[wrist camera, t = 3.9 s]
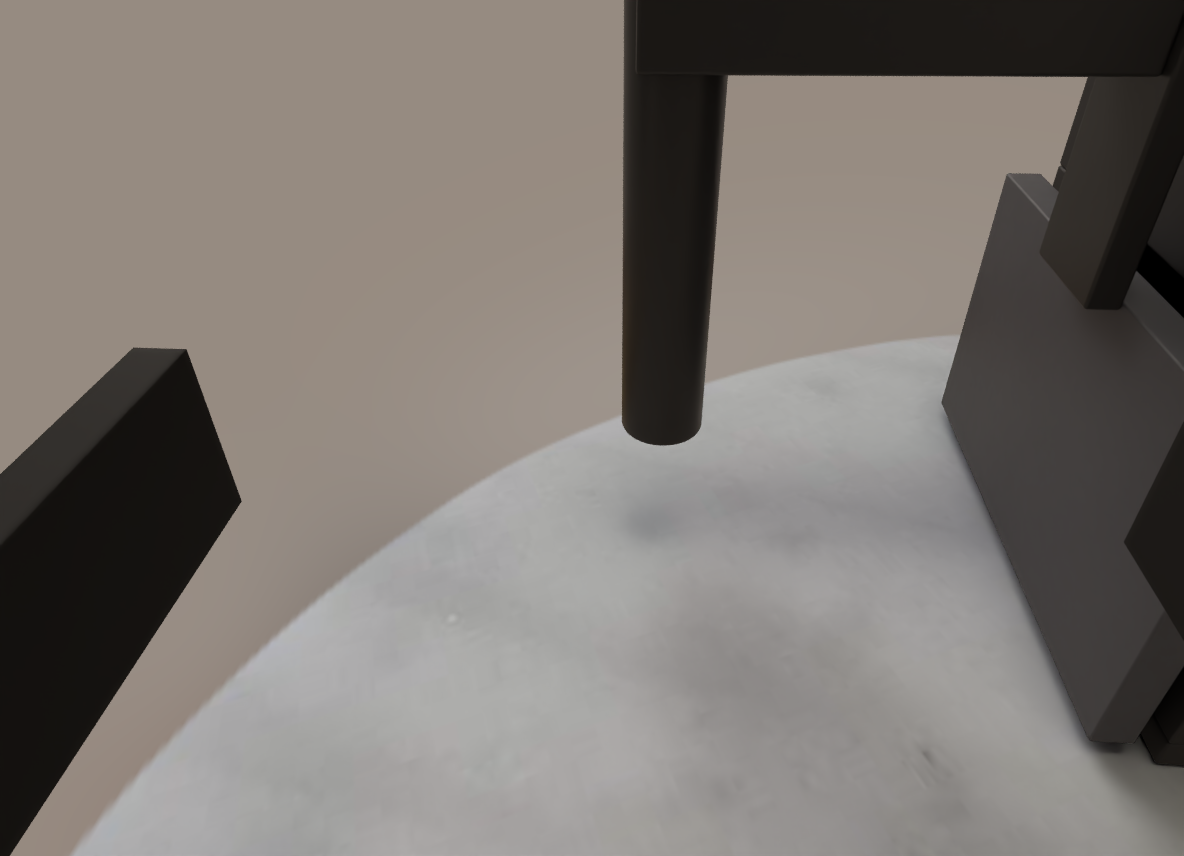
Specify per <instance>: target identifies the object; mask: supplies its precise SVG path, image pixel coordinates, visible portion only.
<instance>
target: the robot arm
mask: <svg viewBox="0 0 1184 856" xmlns="http://www.w3.org/2000/svg"><path fill="white" fill-rule="evenodd" d="M240 503H241V498H240V495H239V493H238V490H237V487H236V485H235V482H234V479H233V476H232V474H231V471H230V468H229V465H228V463H227V460H226V457H225V454H224V451H223V449H222V446H221V443H220V441H219V438H218V435H217V432H216V429H215V427H214V424H213V421H212V418H211V416H210V413H209V410H208V407H207V405H206V402H205V400H204V396H203V394H202V391H201V388H200V385H199V383H198V380H197V377H196V374H195V371H194V369H193V366H192V363H191V360H190V358H189V355H188V352H187V350H186V349H157V348H133V349H132V350H131V351H129V352H128V353H127V354H126V355H125V356H124V357H123V358H122V359H121V360H120V361H119V362H118V363H117V364H116V365H115V366H114V367H113V368H112V369H110V371H108V372H107V373H106V374H105V375H104V376H103V377H102V378H101V379H100V380H99V381H98V382H97V383H96V384H95V385H94V386H93V387H92V388H91V389H89V390H88V391H87V393H85V394H84V395H83V396H82V397H81V398H80V399H79V400H78V401H77V402H76V403H75V404H74V405H73V406H72V407H71V408H69V410H67V412H65V413H64V414H63V415H62V416H61V417H60V418H59V419H58V420H57V421H56V422H55V423H54V424H53V425H52V426H51V427H50V428H48V429H47V430H46V431H45V432H44V433H43V434H42V435H41V436H40V437H39V438H38V439H37V440H36V441H35V442H34V443H33V444H32V445H31V446H30V447H28V449H26V450H25V451H24V452H23V453H22V454H21V455H20V456H19V457H18V458H17V459H16V460H15V461H14V462H13V463H12V464H11V465H10V466H8V467H7V468H6V469H5V470H4V471H3V472H2V473H1V474H0V856H10V855H11V853H12V852H13V850H14V848H15V847H16V845H17V844H18V842H19V841H20V839H21V838H22V836H23V835H24V833H25V832H26V830H27V829H28V827H29V826H30V824H31V822H32V821H33V819H34V818H35V816H36V815H37V813H38V812H39V810H40V809H41V807H42V806H43V804H44V802H45V801H46V799H47V798H48V796H49V795H50V793H51V792H52V790H53V789H54V787H55V786H56V784H57V783H58V781H59V779H60V778H61V777H62V775H63V774H64V772H65V771H66V769H67V767H68V766H69V764H70V763H71V761H72V760H73V758H74V757H75V755H76V754H77V752H78V751H79V749H80V747H81V746H82V744H83V743H84V741H85V740H86V738H87V737H88V735H89V734H90V732H91V731H92V729H93V728H94V726H95V725H96V723H97V722H98V720H99V719H100V717H101V715H102V714H103V712H104V711H105V709H106V708H107V706H108V705H109V703H110V702H111V700H112V699H113V697H114V696H115V694H116V692H117V691H118V689H119V688H120V686H121V685H122V683H123V682H124V680H125V679H126V677H127V676H128V674H129V673H130V671H131V669H132V668H133V667H134V665H135V664H136V662H137V660H138V659H139V657H140V656H141V654H142V653H143V651H144V650H145V648H146V647H147V645H148V643H149V642H150V641H151V639H152V638H153V636H154V635H155V633H156V631H157V630H158V628H159V627H160V625H161V624H162V622H163V621H164V619H165V618H166V616H167V615H168V613H169V612H170V610H171V608H172V607H173V605H174V604H175V602H176V601H177V599H178V598H179V596H180V595H181V593H182V592H183V590H184V589H185V587H186V586H187V584H188V583H189V581H190V579H191V578H192V576H193V575H194V573H195V572H196V570H197V569H198V567H199V566H200V564H201V563H202V561H203V560H204V558H205V557H206V555H207V554H208V552H209V550H210V549H211V547H212V546H213V544H214V543H215V541H216V540H217V538H218V537H219V535H220V534H221V532H222V531H223V529H224V528H225V526H226V524H227V523H228V521H229V520H230V518H231V517H232V515H233V514H234V512H235V511H236V509H237V508H238V506H239V504H240ZM1124 544H1125V545H1126V547H1127V549H1128V550H1129V552H1130V553H1131V555H1132V557H1133V558H1134V560H1135V562H1136V563H1137V565H1138V567H1139V568H1140V570H1141V572H1142V573H1143V575H1144V576H1145V578H1146V580H1147V581H1148V583H1149V585H1150V586H1151V588H1152V590H1153V591H1154V593H1155V595H1156V596H1157V598H1158V599H1159V601H1160V603H1161V604H1162V606H1163V608H1164V609H1165V611H1166V613H1167V614H1168V616H1169V618H1170V619H1171V621H1172V622H1173V624H1174V626H1175V627H1176V629H1177V631H1178V632H1179V634H1180V636H1181V637H1182V639H1183V641H1184V422H1183V424H1182V426H1181V428H1180V430H1179V432H1178V434H1177V436H1176V438H1175V440H1174V442H1173V444H1172V446H1171V448H1170V450H1169V452H1168V454H1167V456H1166V458H1165V460H1164V462H1163V464H1162V466H1161V468H1160V470H1159V472H1158V474H1157V476H1156V478H1155V480H1154V482H1153V484H1152V486H1151V488H1150V490H1149V492H1148V494H1147V496H1146V498H1145V500H1144V502H1143V504H1142V506H1141V508H1140V510H1139V512H1138V514H1137V516H1136V518H1135V520H1134V522H1133V524H1132V526H1131V528H1130V530H1129V532H1128V534H1127V536H1126V538H1125V540H1124Z"/></svg>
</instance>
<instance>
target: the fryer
mask: <svg viewBox="0 0 1184 856" xmlns="http://www.w3.org/2000/svg"><path fill="white" fill-rule="evenodd" d="M1095 80H1096V77H1088V78H1087V81H1086V84H1085V88H1084V91H1083V94H1082V97H1081V100H1080V104H1079V106H1078V109H1077V112H1076V116H1075V119H1074V122H1073V125H1072V128H1071V131H1070V134H1069V137H1068V140H1067V143H1066V147H1065V150H1064V153H1063V156H1062V159H1061V162H1060V163H1061V165H1062V166H1059V168H1058V171H1057V174H1056V178H1055V180H1054V184H1053V187H1054V188H1055V189H1056V190H1057V191H1058V192H1059V189H1060V186H1061V183H1062V180H1063V177H1064V174H1065V171H1066V168H1067V165H1068V162H1069V159H1070V156H1071V153H1072V150H1073V147H1074V144H1075V141H1076V138H1077V135H1078V131H1079V128H1080V125H1081V122H1082V119H1083V116H1084V113H1085V110H1086V107H1087V104H1088V101H1089V98H1090V95H1091V92H1092V89H1093V86H1094V83H1095ZM1147 245H1148V246H1149V247H1150V248H1151V249H1152V250H1153V251H1154V252H1156V253H1157V254H1158V255H1159V256H1160V257H1161V258H1162V259H1163V260H1164V261H1165V262H1166V263H1167V264H1168V265H1170V266H1171V267H1172V268H1173V269H1174V270H1175V271H1176V272H1177V273H1178V274H1179V275H1180V276H1181V277H1183V278H1184V155H1183V158H1182V160H1181V163H1180V165H1179V168H1178V170H1177V172H1176V175H1175V177H1174V180H1173V182H1172V185H1171V187H1170V190H1169V192H1168V194H1167V197H1166V199H1165V202H1164V204H1163V207H1162V209H1161V212H1160V214H1159V216H1158V219H1157V221H1156V224H1155V226H1154V229H1153V231H1152V233H1151V236H1150V238H1149V241H1148V243H1147ZM1141 735H1142V737H1143V739H1144V741H1145V743H1146V745H1147V747H1148V749H1149V751H1150V753H1151V755H1152V757H1153V759H1154V761H1155V762H1156V763H1158V764H1172V765H1184V668H1183V670H1182V671H1181V673H1180V674H1179V676H1178V677H1177V679H1176V680H1175V682H1174V683H1173V685H1172V687H1171V688H1170V690H1168V691H1167V693H1166V694H1165V696H1164V698H1163V699H1162V701H1161V702H1160V704H1159V705H1158V707H1157V708H1156V710H1155V711H1154V713H1153V714H1152V716H1151V718H1150V719H1149V721H1148V722H1147V724H1146V725H1145V727H1144V728H1143V730H1142V731H1141Z"/></svg>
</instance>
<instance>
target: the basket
mask: <svg viewBox="0 0 1184 856" xmlns="http://www.w3.org/2000/svg"><path fill="white" fill-rule="evenodd" d="M728 75H776V76H777V75H778V76H779V75H780V76H781V75H783V76H785V75H787V76H790V75H792V76H1022V77H1024V76H1025V77H1029V76H1030V77H1031V76H1032V77H1039V76H1040V77H1049V76H1050V77H1096V80H1095V83H1094V86H1093V89H1092V92H1091V95H1090V98H1089V101H1088V104H1087V107H1086V110H1085V113H1084V116H1083V119H1082V122H1081V125H1080V128H1079V131H1078V135H1077V138H1076V141H1075V144H1074V147H1073V150H1072V153H1071V156H1070V159H1069V162H1068V165H1067V168H1066V171H1065V174H1064V177H1063V180H1062V183H1061V186H1060V189H1059V192H1058V191H1057V190H1056V189H1055V188H1054V187H1053V186H1052V185H1051V184H1050V183H1049V182H1048V181H1047V180H1046V179H1045V178H1044V177H1043V176H1042V175H1041V174H1012V173H1009V174H1007V176H1006V179H1005V183H1004V186H1003V189H1002V193H1001V196H1000V200H999V203H998V207H997V210H996V214H995V218H994V221H993V224H992V228H991V231H990V235H989V238H988V242H987V245H986V249H985V252H984V256H983V259H982V263H981V266H980V270H979V273H978V277H977V280H976V284H975V287H974V291H973V294H972V298H971V301H970V305H969V308H968V312H967V315H966V319H965V322H964V326H963V329H962V333H961V336H960V340H959V343H958V347H957V350H956V354H955V357H954V361H953V364H952V368H951V371H950V375H949V378H948V382H947V385H946V389H945V392H944V396H943V399H942V405H943V407H944V410H945V412H946V414H947V416H948V419H949V421H950V423H951V426H952V428H953V430H954V433H955V435H956V437H957V439H958V442H959V444H960V446H961V449H962V451H963V453H964V455H965V458H966V460H967V462H968V465H969V467H970V469H971V471H972V474H973V476H974V478H975V481H976V483H977V485H978V487H979V490H980V492H981V494H982V497H983V499H984V501H985V503H986V506H987V508H988V510H989V513H990V515H991V517H992V519H993V522H994V524H995V526H996V529H997V531H998V533H999V535H1000V538H1001V540H1002V542H1003V545H1004V547H1005V549H1006V551H1007V554H1008V556H1009V558H1010V561H1011V563H1012V565H1013V567H1014V570H1015V572H1016V574H1017V577H1018V579H1019V581H1020V583H1021V586H1022V588H1023V590H1024V593H1025V595H1026V597H1027V599H1028V602H1029V604H1030V606H1031V609H1032V611H1033V613H1034V616H1035V618H1036V620H1037V622H1038V625H1039V627H1040V629H1041V632H1042V634H1043V636H1044V638H1045V641H1046V643H1047V645H1048V648H1049V650H1050V652H1051V654H1052V657H1053V659H1054V661H1055V664H1056V666H1057V668H1058V670H1059V673H1060V675H1061V677H1062V680H1063V682H1064V684H1065V686H1066V689H1067V691H1068V693H1069V696H1070V698H1071V700H1072V702H1073V705H1074V707H1075V709H1076V712H1077V714H1078V716H1079V718H1080V721H1081V723H1082V725H1083V728H1084V730H1085V732H1086V734H1087V737H1088V739H1089V740H1090V741H1100V742H1115V743H1130V744H1132V743H1134V742H1135V741H1136V739H1137V738H1138V736H1139V734H1140V733H1141V731H1142V730H1143V728H1144V727H1145V725H1146V724H1147V722H1148V721H1149V719H1150V718H1151V716H1152V714H1153V713H1154V711H1155V710H1156V708H1157V707H1158V705H1159V704H1160V702H1161V701H1162V699H1163V698H1164V696H1165V694H1166V693H1167V691H1168V690H1170V688H1171V687H1172V685H1173V683H1174V682H1175V680H1176V679H1177V677H1178V676H1179V674H1180V673H1181V671H1182V670H1183V668H1184V641H1183V639H1182V637H1181V636H1180V634H1179V632H1178V631H1177V629H1176V627H1175V626H1174V624H1173V622H1172V621H1171V619H1170V618H1169V616H1168V614H1167V613H1166V611H1165V609H1164V608H1163V606H1162V604H1161V603H1160V601H1159V599H1158V598H1157V596H1156V595H1155V593H1154V591H1153V590H1152V588H1151V586H1150V585H1149V583H1148V581H1147V580H1146V578H1145V576H1144V575H1143V573H1142V572H1141V570H1140V568H1139V567H1138V565H1137V563H1136V562H1135V560H1134V558H1133V557H1132V555H1131V553H1130V552H1129V550H1128V549H1127V547H1126V545H1125V544H1124V540H1125V538H1126V536H1127V534H1128V532H1129V530H1130V528H1131V526H1132V524H1133V522H1134V520H1135V518H1136V516H1137V514H1138V512H1139V510H1140V508H1141V506H1142V504H1143V502H1144V500H1145V498H1146V496H1147V494H1148V492H1149V490H1150V488H1151V486H1152V484H1153V482H1154V480H1155V478H1156V476H1157V474H1158V472H1159V470H1160V468H1161V466H1162V464H1163V462H1164V460H1165V458H1166V456H1167V454H1168V452H1169V450H1170V448H1171V446H1172V444H1173V442H1174V440H1175V438H1176V436H1177V434H1178V432H1179V430H1180V428H1181V426H1182V424H1183V422H1184V278H1183V277H1181V276H1180V275H1179V274H1178V273H1177V272H1176V271H1175V270H1174V269H1173V268H1172V267H1171V266H1170V265H1168V264H1167V263H1166V262H1165V261H1164V260H1163V259H1162V258H1161V257H1160V256H1159V255H1158V254H1157V253H1156V252H1154V251H1153V250H1152V249H1151V248H1150V247H1149V246H1148V245H1147V243H1148V241H1149V238H1150V236H1151V233H1152V231H1153V229H1154V226H1155V224H1156V221H1157V219H1158V216H1159V214H1160V212H1161V209H1162V207H1163V204H1164V202H1165V199H1166V197H1167V194H1168V192H1169V190H1170V187H1171V185H1172V182H1173V180H1174V177H1175V175H1176V172H1177V170H1178V168H1179V165H1180V163H1181V160H1182V158H1183V155H1184V0H624V142H623V147H624V148H623V154H624V155H623V156H624V157H623V339H622V340H623V342H622V346H623V347H622V356H623V357H622V424H623V426H624V428H625V430H626V431H627V433H628V434H629V435H631V436H632V437H633V438H635V439H637V440H639V441H641V442H644V443H648V444H652V445H674V444H679V443H682V442H685V441H687V440H689V439H691V438H692V437H693V436H695V435H696V434H697V432H698V431H699V429H700V427H701V421H702V408H703V394H704V381H705V368H706V355H707V342H708V329H709V315H710V301H711V289H712V276H713V263H714V250H715V237H716V224H717V211H718V197H719V184H720V170H721V157H722V145H723V132H724V119H725V106H726V92H727V79H728Z"/></svg>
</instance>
